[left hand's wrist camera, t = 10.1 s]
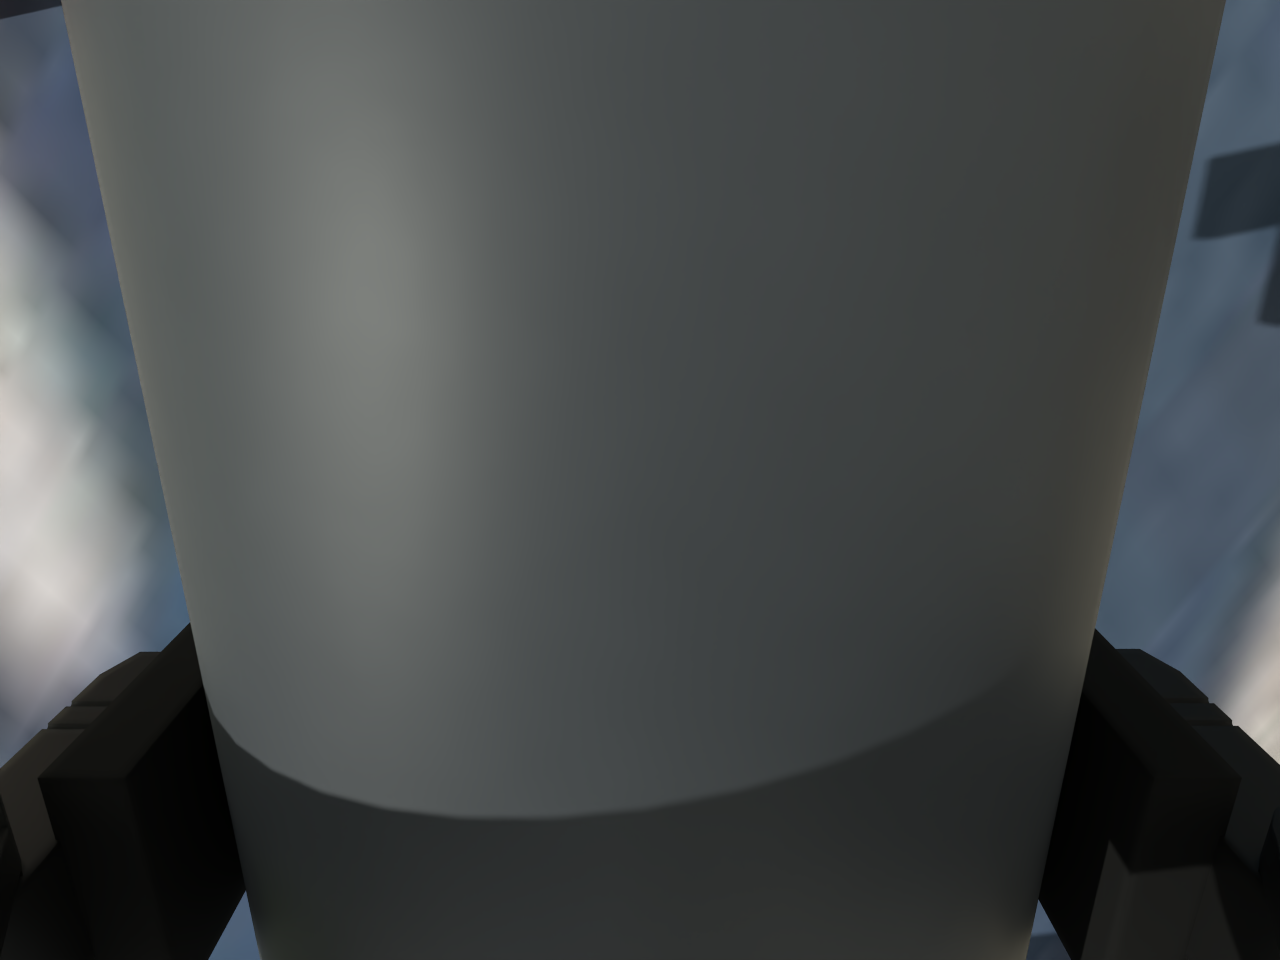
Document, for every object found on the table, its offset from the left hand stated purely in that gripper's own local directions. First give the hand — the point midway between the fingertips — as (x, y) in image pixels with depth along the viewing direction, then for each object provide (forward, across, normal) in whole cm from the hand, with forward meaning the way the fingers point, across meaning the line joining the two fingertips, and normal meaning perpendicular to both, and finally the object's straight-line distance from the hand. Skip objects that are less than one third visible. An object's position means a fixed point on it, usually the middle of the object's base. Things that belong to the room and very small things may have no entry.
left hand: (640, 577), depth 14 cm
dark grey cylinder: (+1, 0, -8) cm, 8 cm away
